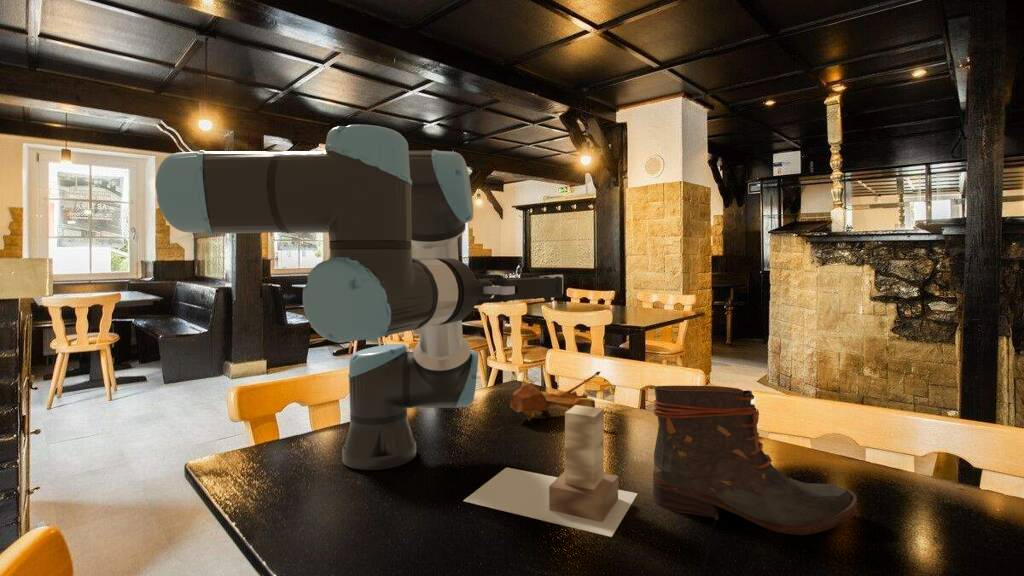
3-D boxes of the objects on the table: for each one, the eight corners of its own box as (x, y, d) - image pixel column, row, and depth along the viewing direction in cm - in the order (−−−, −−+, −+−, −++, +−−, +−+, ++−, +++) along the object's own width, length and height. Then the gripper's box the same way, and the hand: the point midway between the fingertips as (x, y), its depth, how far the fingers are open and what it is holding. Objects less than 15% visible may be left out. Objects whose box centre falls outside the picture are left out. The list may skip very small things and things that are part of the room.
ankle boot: (871, 544, 76) (876, 409, 75) (651, 518, 84) (653, 395, 83) (843, 508, 87) (847, 389, 86) (651, 488, 95) (653, 379, 94)
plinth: (549, 510, 86) (549, 486, 86) (568, 488, 94) (568, 466, 94) (602, 522, 82) (602, 497, 82) (618, 498, 90) (618, 475, 90)
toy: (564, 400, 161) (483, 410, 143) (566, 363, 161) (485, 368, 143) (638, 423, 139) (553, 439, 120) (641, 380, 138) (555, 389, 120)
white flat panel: (462, 502, 90) (462, 500, 90) (506, 469, 104) (506, 467, 104) (611, 539, 78) (611, 536, 78) (637, 495, 92) (637, 493, 92)
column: (565, 484, 87) (565, 412, 86) (575, 473, 91) (575, 405, 91) (594, 490, 85) (594, 416, 84) (603, 478, 89) (603, 408, 88)
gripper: (349, 320, 65) (447, 305, 83) (534, 332, 53) (599, 312, 72) (348, 258, 64) (446, 258, 83) (534, 257, 53) (599, 257, 72)
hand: (517, 283), depth 78 cm, fingers open, 13 cm apart
